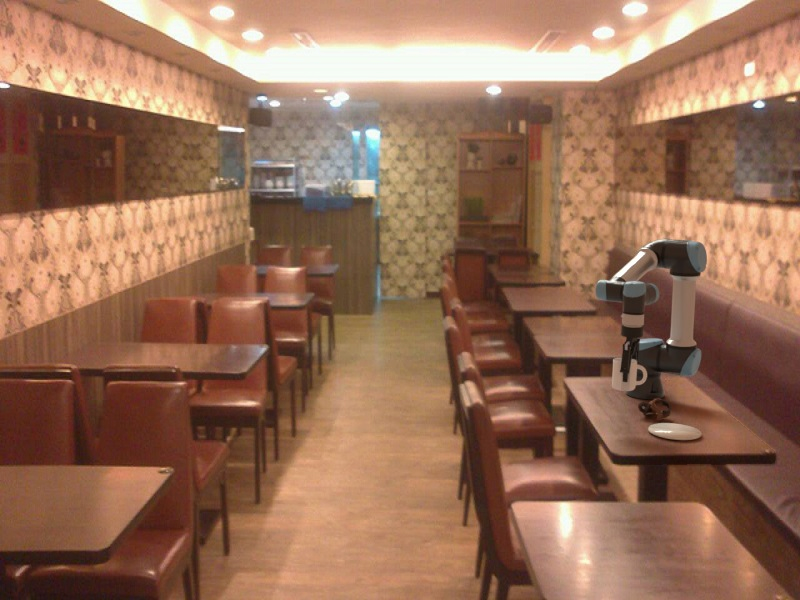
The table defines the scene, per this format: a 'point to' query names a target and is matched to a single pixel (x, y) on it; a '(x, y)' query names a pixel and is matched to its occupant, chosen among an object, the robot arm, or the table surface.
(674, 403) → the table surface
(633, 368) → the mug
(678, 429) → the serving plate
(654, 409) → the brown twisted loop piece
